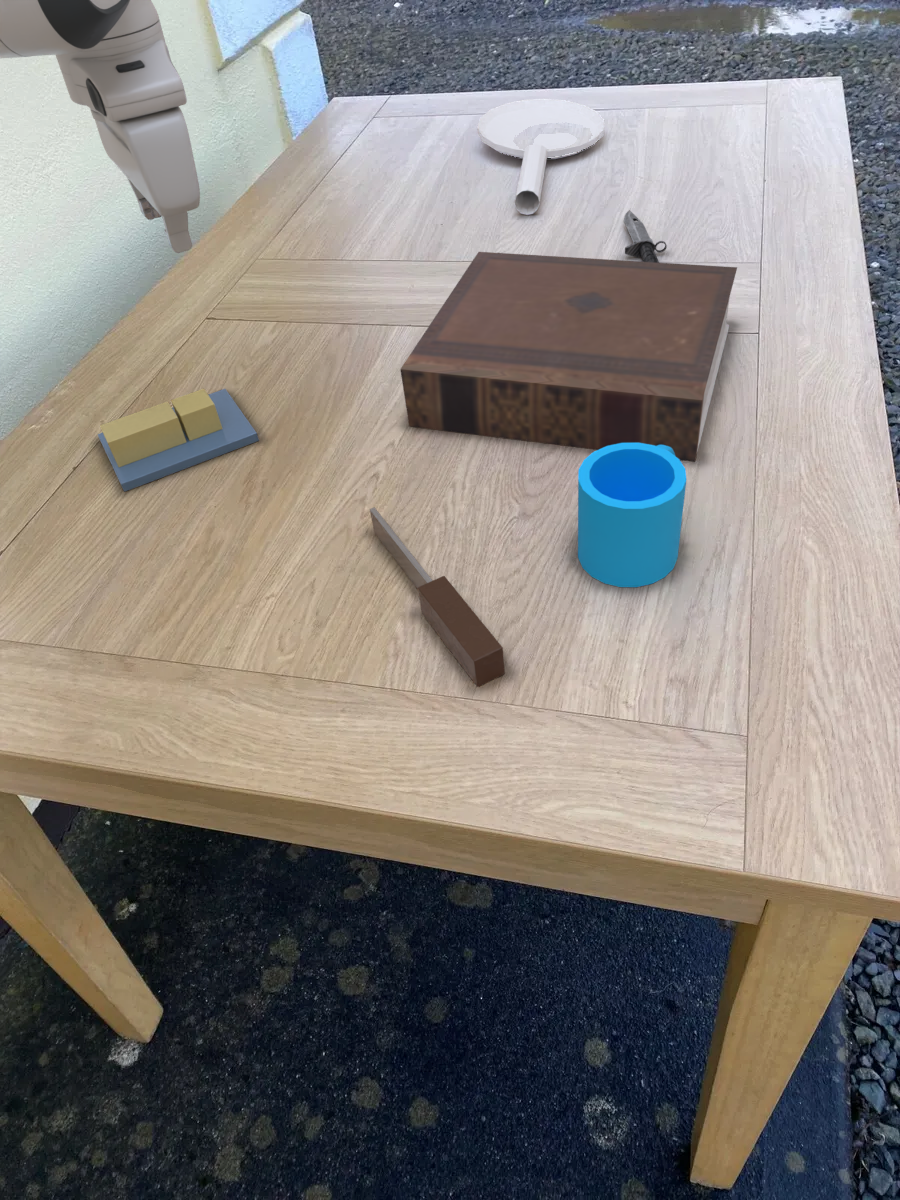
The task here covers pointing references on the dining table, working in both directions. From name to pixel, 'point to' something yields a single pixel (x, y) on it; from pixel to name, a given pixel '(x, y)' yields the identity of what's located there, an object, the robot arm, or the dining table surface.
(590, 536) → the mug
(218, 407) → the butter dish
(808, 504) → the dining table surface
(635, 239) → the knife
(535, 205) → the frying pan
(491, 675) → the butter knife
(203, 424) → the butter pat
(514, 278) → the book
